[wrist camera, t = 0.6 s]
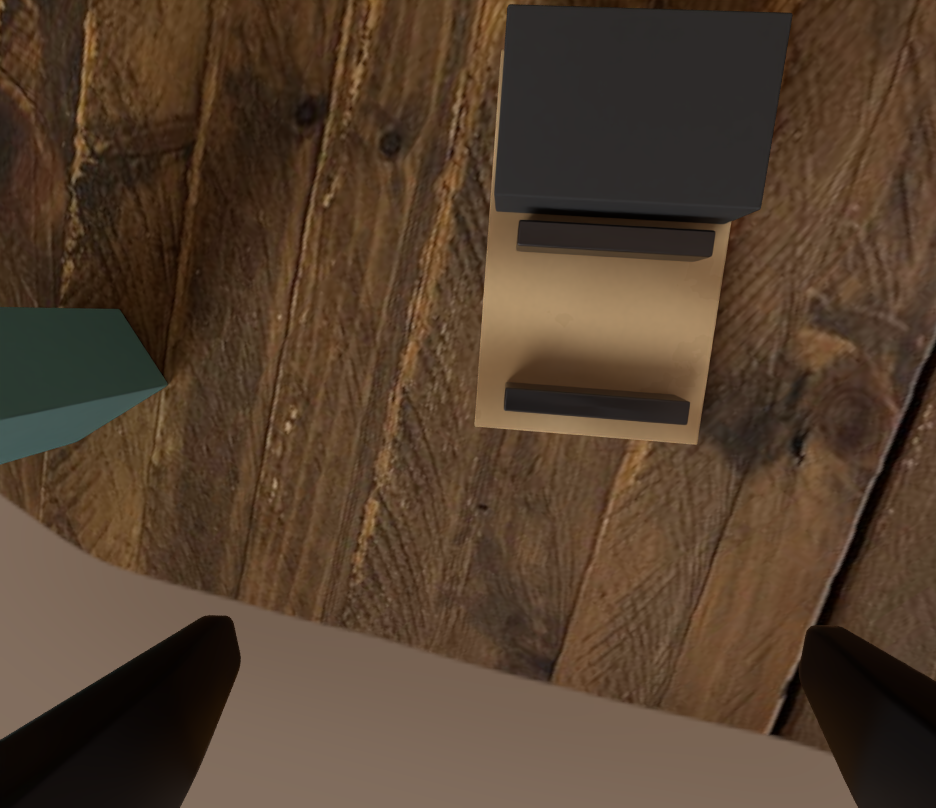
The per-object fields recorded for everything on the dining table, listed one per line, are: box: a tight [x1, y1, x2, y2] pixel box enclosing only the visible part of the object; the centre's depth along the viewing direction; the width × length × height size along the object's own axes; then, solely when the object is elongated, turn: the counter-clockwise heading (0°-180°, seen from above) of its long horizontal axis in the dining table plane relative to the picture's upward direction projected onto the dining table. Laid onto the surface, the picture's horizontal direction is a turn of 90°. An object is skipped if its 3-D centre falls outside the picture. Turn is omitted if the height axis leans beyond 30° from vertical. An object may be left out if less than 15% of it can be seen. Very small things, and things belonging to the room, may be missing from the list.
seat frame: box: [474, 4, 792, 444], centre depth 16 cm, size 12×8×4 cm, turn 176°
